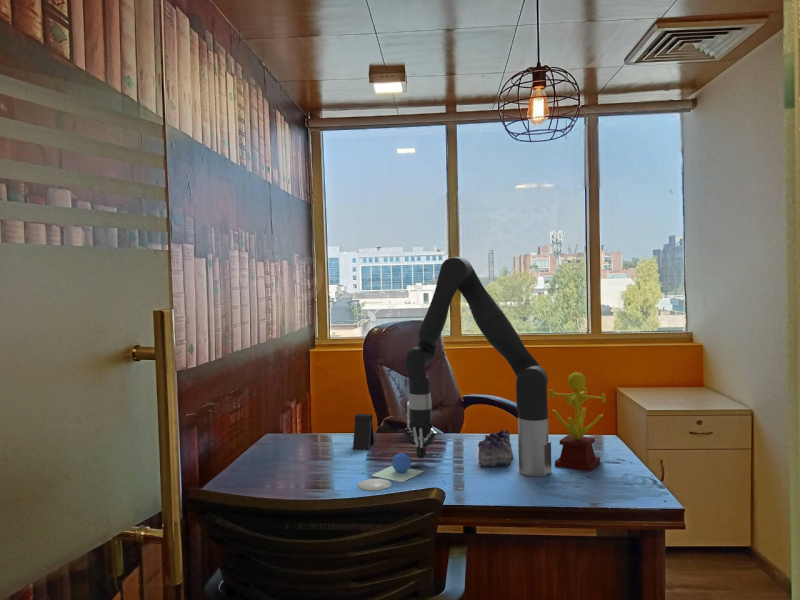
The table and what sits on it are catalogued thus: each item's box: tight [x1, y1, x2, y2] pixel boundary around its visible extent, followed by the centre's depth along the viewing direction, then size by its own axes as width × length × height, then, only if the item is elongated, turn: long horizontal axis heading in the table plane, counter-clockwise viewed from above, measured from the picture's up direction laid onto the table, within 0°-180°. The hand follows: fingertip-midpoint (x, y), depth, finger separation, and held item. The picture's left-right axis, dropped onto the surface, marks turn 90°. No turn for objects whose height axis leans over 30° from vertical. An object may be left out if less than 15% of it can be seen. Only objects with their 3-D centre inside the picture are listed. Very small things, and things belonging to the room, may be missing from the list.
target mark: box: [370, 465, 424, 483], centre depth 187 cm, size 12×12×1 cm
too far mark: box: [357, 478, 392, 492], centre depth 177 cm, size 10×10×1 cm
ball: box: [391, 452, 412, 473], centre depth 188 cm, size 6×6×6 cm
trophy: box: [549, 371, 607, 472], centre depth 193 cm, size 14×16×30 cm
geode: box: [477, 429, 514, 468], centre depth 200 cm, size 20×12×10 cm, turn 163°
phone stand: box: [352, 413, 376, 451], centre depth 220 cm, size 9×6×12 cm, turn 166°
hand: (421, 457), depth 199 cm, fingers closed
